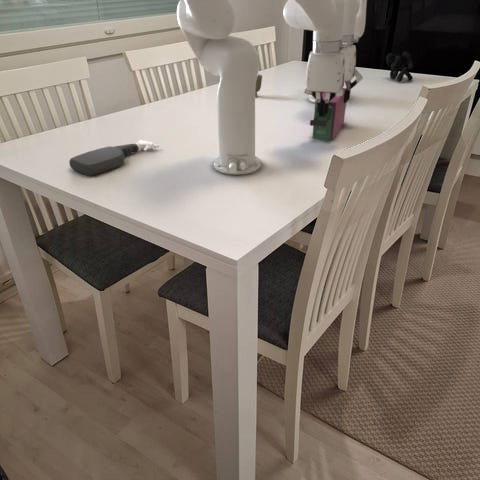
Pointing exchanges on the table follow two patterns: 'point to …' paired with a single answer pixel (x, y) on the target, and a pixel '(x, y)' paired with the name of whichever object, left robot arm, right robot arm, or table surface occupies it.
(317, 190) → the table surface
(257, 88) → the cup
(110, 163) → the spray bottle
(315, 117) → the drawer
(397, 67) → the squiggle
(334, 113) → the tall purple box
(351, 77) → the right robot arm
